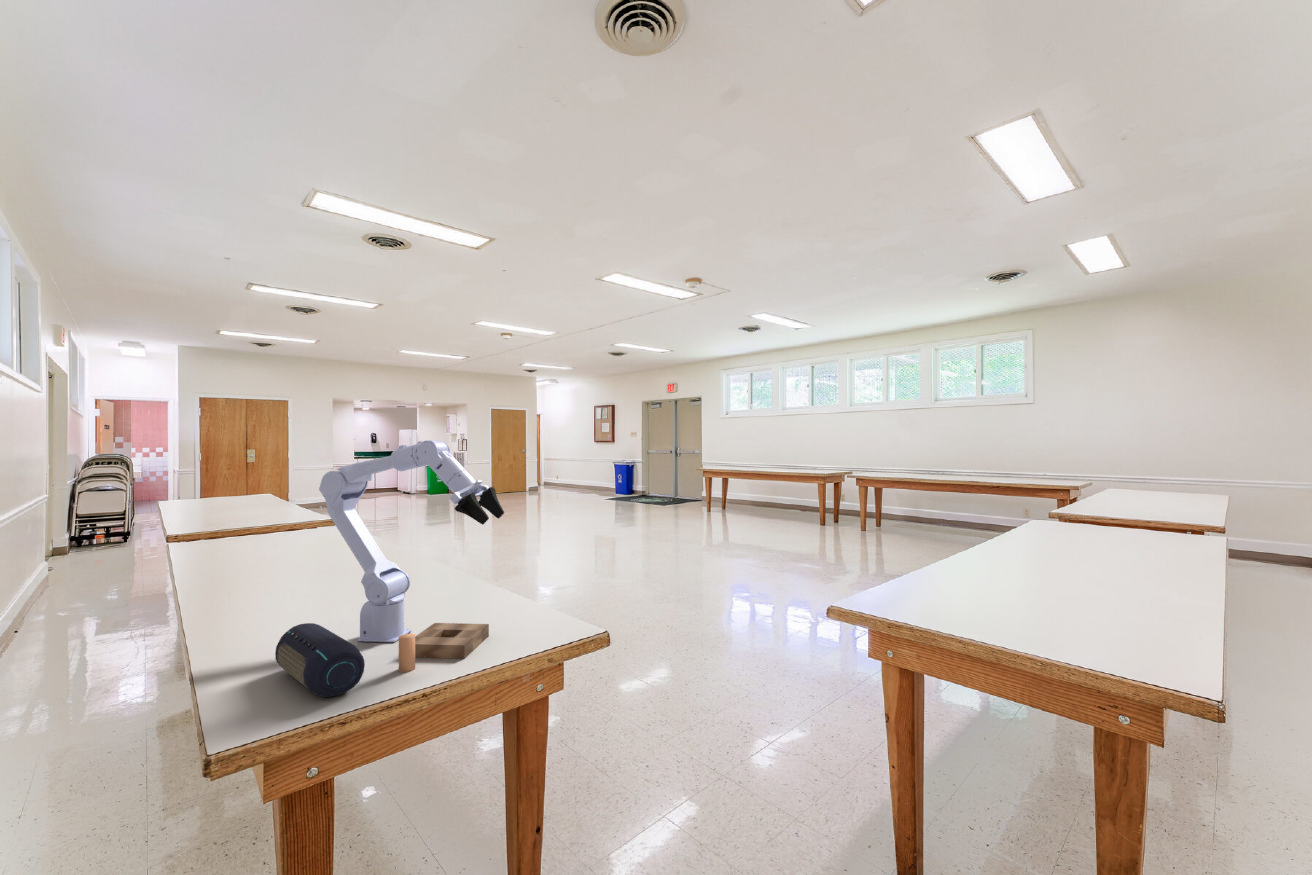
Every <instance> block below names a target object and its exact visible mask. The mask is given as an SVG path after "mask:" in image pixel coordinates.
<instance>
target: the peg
mask: <svg viewBox="0 0 1312 875" xmlns="http://www.w3.org/2000/svg"><path fill="white" fill-rule="evenodd" d="M415 636H416V634H414V633H408V634H404V635H401V636H399V640H398V672H399V673H408V672H409V673H410V672H412V671H414V670H416V658H415Z"/></svg>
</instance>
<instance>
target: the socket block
mask: <svg viewBox="0 0 1312 875" xmlns="http://www.w3.org/2000/svg"><path fill="white" fill-rule="evenodd" d="M489 628H490V624H489V623H463V622H462V623H458V622H457V623H455V622H451V623H449V622H433V624H431V625H429V626H428V627H427V628H425V629H424V630H422V631H421V632H419V633H418V634H417V635H416V634H415V659H416V658H419V659H421V658H422V659H456V660H458V659H459V660H461V659H463V660H465V659H466V658H467V657H468V656H470V654H472V652H474V651H475V649H477V648H478V647H479V646H480V645H481V644H482V643H483V642H484V641H486V639H487V638H488V637H489V636H490V635H489V634H490V629H489Z"/></svg>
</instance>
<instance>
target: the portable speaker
mask: <svg viewBox="0 0 1312 875" xmlns="http://www.w3.org/2000/svg"><path fill="white" fill-rule="evenodd" d="M276 644H277V645H276V647H275V654H274V655H275V660H276V663H277V665H279V667H281V668H282V670H284V671H285V672H286V673H288V674H289V675H290V676H291V677H292V678H293V679H295V680H296V681H298V683H300V684H302V686H304V687H305V688H306V689H308V690H309V691H310V692H312V694H314V695H316V696H319V697H322V698H325V697H326V698H328V697H329V698H330V697H337V696H340V695H344V694H345V693H347V692H349V691H350V690H352V689H353V688H354V687H355V686H356V685H357V684H358V683H360V681H361V679H362V677H363V675H364V672H365V666H366V665H365V663H366V662H365V659H364V656H363V655H362V653H361V651H360V650H359V649H358V647H357V645H355V644H353V643H351V642H349V641H348V640H346V639H344V638H342V637H341V636H339V635H338V634H336V633H334V632H332V631H330V630H329V629H328V628H325V627H324V626H322V625H320V624H317V623H313V622H312V623H311V622H308V623H306V622H305V623H299V624H297V625H294V626H292V627H291V628H289V629H288V630H287V631H286V632H285V633H284V634H282V636H280V638H279V641H278V643H276Z"/></svg>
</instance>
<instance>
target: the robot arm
mask: <svg viewBox="0 0 1312 875" xmlns="http://www.w3.org/2000/svg"><path fill="white" fill-rule="evenodd" d="M425 466H428V467H429V468H430V469H431V470H432V471H433V473H435V474H436V475H437V477H439V479H440V480H441V481H442V482H443V483H444V485H446V486H447V488H449V490H450V492H452V495H450V497H449V500H450V501H451V503H453V504H454V505H456V506H455V507H454V510H455V511H456V512H458V513H462V514H464V515H466V516H468V517H469V518H471V519H472V520H474V521H476V522H477V523H479V524H480V525H485V523H487V522H488V520H489V519H490V518H489V515H488V514H487V512H486V511H488V512H489V513H490V514H491V515H493V517H495V518H497V519H501V518H502V516H503V515H504V514H505V511H504V509H503V507H502V505H501V504H500V501H499V500H498V497H497V492H496V489H495V487H493V486H490V487H489V486H488V484H482V483H483V480H482V479H479V480H475V478H474V477H473V476H472V475H471V474H470V473H469V472H468V471H467V470H466V469H465V468H464V467H463V465H462V464H461V463H460V462H459V461H458V459H456V458H455V456H453V455H452V454H451V453H450V447H449V445H448V444H447V443H446V442H445V441H442V440H421V441H417V443H416V444H412V445H408V446H407V444H402V445H398V448H395V449H394V450H392V452H391V454H390V455H389V456H384V457H379V458H375V459H370V460H365V461H361V462H356V463H351V464H348V465H344V466H341V467H339V468H337V469H336V470H329V471H328V472H326V473H325V474H324V475H323V476H322V478H321V482H320V485H319V488H318V491H319V492H320V493H321V495H322V497H323V498H324V499H325V500H324V501H325V504H326V510H327V513H328V516H329V517H330V519H331V521H332V522H333V524H334V525H335V528H337V530H338V531H339V533H340V534H341V536H342V538H343V539H344V541H345V543H346V545H347V546H348V548H349V549H350V551H351V553H352V554H353V555H354V557H355V559H356V560H357V562H358V563H359V565H360V566H361V568H362V570H363V572H364V574H363V576H362V579H361V581H360V582H361V584H362V586H363V589H364V594H365V598H366V600H367V601H366V602H365V603H363V604H362V606H361V610H360V613H359V638H358V639H357V642H366V643H367V642H368V643H370V642H372V643H374V642H375V643H396V642H397V641H399V636H401V635H404V634H410V633H411V632H412V629H411V628H405V597H406V592H408V590H409V589H410V586H411V579H410V576H409V574H408V573H407V572H406V571H405V570H403V569H402V568H400V567H399V565H398V564H397V563H396V562H393V561H391V560H389V559H387V558H386V556H385V554H384V552H382V550H381V548H380V546H379V545H378V544H377V542H376V541H375V539H374V537H373V535H372V534H371V532H370V531H369V529H368V528H367V526H366V525H365V522H364V521H363V520H362V518H361V517H360V515H359V514H358V512H357V510H356V506H357V504H358V502H359V500H360V499H361V498H362V496H363V494H364V493H365V491H366V490H367V488H368V485H369V482H370V481H372V478H373V477H372V476H373V475H374V474H378V473H382V472H386V471H389V470H392V469H395V470H396V471H398V472H405V471H408V470H409V471H410V470H413V469H418V468H421V467H425ZM477 497H478V498H479V500H478V498H477ZM484 509H485V510H486V511H485V510H484Z"/></svg>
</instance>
